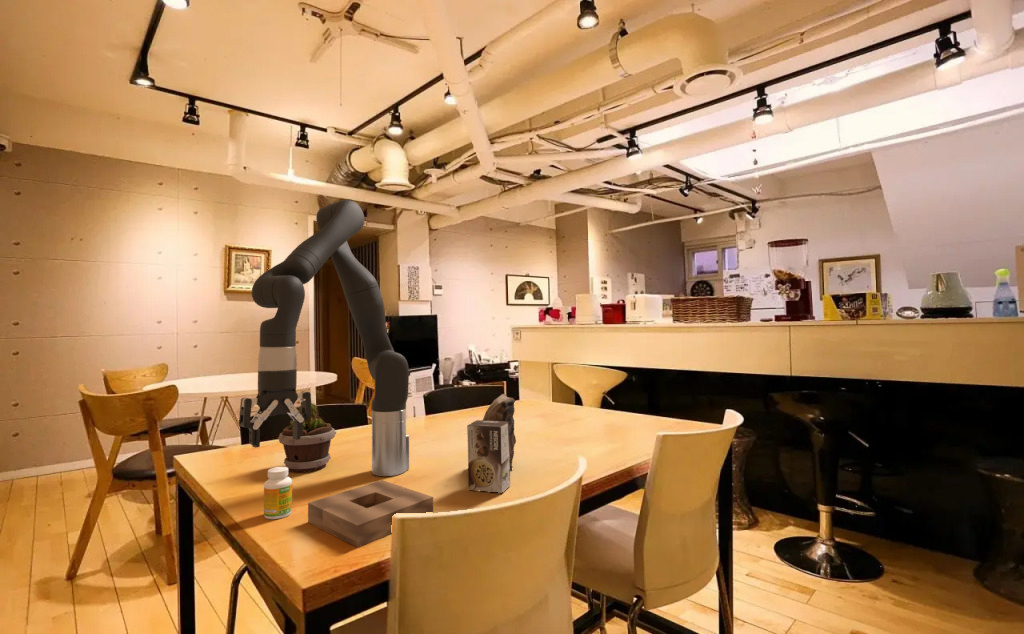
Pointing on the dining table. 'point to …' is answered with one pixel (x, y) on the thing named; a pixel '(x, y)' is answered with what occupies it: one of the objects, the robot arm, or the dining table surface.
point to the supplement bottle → (277, 494)
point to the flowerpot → (308, 444)
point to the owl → (503, 418)
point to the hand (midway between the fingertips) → (276, 443)
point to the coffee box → (488, 456)
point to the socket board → (366, 511)
